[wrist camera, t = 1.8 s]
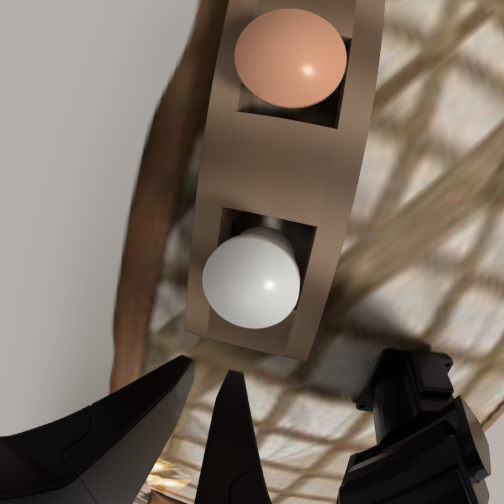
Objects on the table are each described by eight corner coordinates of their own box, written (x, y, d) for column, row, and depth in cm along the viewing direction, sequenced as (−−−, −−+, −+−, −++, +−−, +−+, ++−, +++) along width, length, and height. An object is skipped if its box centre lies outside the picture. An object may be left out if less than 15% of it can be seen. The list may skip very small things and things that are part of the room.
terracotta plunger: (331, 122, 14) (337, 116, 11) (245, 107, 15) (226, 98, 11) (344, 44, 12) (352, 18, 9) (258, 31, 13) (244, 4, 10)
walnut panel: (308, 334, 21) (306, 361, 19) (199, 308, 22) (184, 331, 19) (376, 12, 13) (385, -7, 10) (247, -7, 14) (235, -28, 11)
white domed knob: (293, 301, 18) (287, 337, 14) (219, 284, 18) (198, 315, 15) (310, 228, 16) (309, 252, 13) (228, 211, 17) (207, 230, 13)
